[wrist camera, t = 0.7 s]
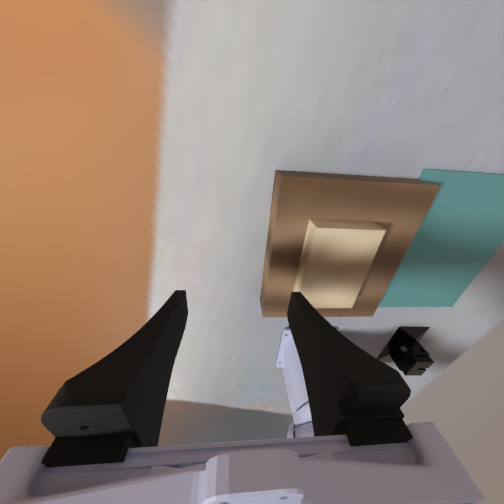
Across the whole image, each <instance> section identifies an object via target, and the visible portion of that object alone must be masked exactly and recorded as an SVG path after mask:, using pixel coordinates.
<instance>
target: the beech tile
mask: <svg viewBox="0 0 504 504" xmlns="http://www.w3.org/2000/svg"><path fill="white" fill-rule="evenodd" d="M385 232H386V230H385V229H383V228H381V227H380V226H378V225H377V224H375V223H373V222H370V221H346V220H322V219H309V222H308V227H307V231H306V236H305V240H304V245H303V249H302V254H301V258H300V263H299V267H298V272H297V276H296V281H295V285H294V289H293V292H301V293H302V294H303V296H304V297H305V298H306V299H307V300H308V301H309V302H310V304H311V305H312V306H313V307H314V308H352V307H353V304H354V302H355V300H356V298H357V295H358V293H359V291H360V288H361V286H362V284H363V282H364V279H365V277H366V275H367V273H368V270H369V268H370V266H371V263H372V261H373V259H374V257H375V254H376V252H377V250H378V247H379V245H380V243H381V241H382V238H383V236H384V234H385Z"/></svg>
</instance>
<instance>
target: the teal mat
mask: <svg viewBox="0 0 504 504" xmlns="http://www.w3.org/2000/svg"><path fill="white" fill-rule="evenodd" d="M419 180H420V181H424V182H428V183H432V184H436V185H440V186H441V187H440V189H439V191H438V193H437V195H436V196H435V198H434V200H433V202H432V204H431V206H430V208H429V210H428V212H427V214H426V215H425V217H424V219H423V221H422V223H421V225H420V227H419V229H418V231H417V233H416V235H415V236H414V238H413V240H412V242H411V244H410V246H409V248H408V250H407V252H406V254H405V256H404V257H403V259H402V261H401V263H400V265H399V267H398V269H397V271H396V273H395V275H394V276H393V278H392V280H391V282H390V284H389V286H388V288H387V290H386V292H385V294H384V296H383V297H382V299H381V301H380V303H379V305H378V307H452V306H453V305H454V303H455V302H456V301H457V300H458V298H459V297H460V296H461V294H462V293H463V292H464V291H465V289H466V288H467V287H468V285H469V284H470V283H471V282H472V280H473V279H474V278H475V276H476V275H477V274H478V273H479V271H480V270H481V269H482V267H483V266H484V265H485V264H486V262H487V261H488V260H489V258H490V257H491V256H492V255H493V253H494V252H495V251H496V249H497V248H498V247H499V246H500V244H501V243H502V242H503V240H504V174H492V173H478V172H464V171H449V170H435V169H424V170H423V172H422V174H421V176H420V178H419Z"/></svg>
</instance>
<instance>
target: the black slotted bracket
mask: <svg viewBox="0 0 504 504" xmlns="http://www.w3.org/2000/svg"><path fill="white" fill-rule="evenodd" d="M429 328H430V327H399V328H398V329H397V331H396V332H395V334H394V335H393V336H392V338H391V339H390V341H389V342H388V344H387V345H386V346H385V348H384V349H383V351H382V352H381V353H380V355H379V356H378V358H377V360H379V361H394V362H395V364H396V365H397V367H398V368H399V370H400V371H403V373H404V374H405V375H422V374H423V373H424V372H425V371H426V369H425V368H429V367H430V366H431V365H432V364H433V363H434V362H433V360H432V359H431V358H430V357H429V353H428V352H427V351H426V350H425V349H424V348H423V347H422V345H421V344H420V343H419V342H418V341H419V340H420V339H421V338H422V337H423V335H424V334H425V333H426V332H427V331H428V329H429Z"/></svg>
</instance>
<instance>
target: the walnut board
mask: <svg viewBox="0 0 504 504" xmlns="http://www.w3.org/2000/svg"><path fill="white" fill-rule="evenodd" d="M440 187H441V186H440V185H436V184H432V183H428V182H424V181H420V180H416V179H404V178H388V177H373V176H358V175H342V174H327V173H311V172H296V171H280V170H276V171H275V179H274V187H273V196H272V204H271V213H270V221H269V229H268V238H267V246H266V254H265V263H264V271H263V279H262V288H261V296H260V302H261V309H262V315H263V317H288V316H287V310H288V306H289V302H290V297H291V293H292V292H293V289H294V285H295V281H296V276H297V272H298V267H299V263H300V258H301V254H302V249H303V245H304V240H305V236H306V231H307V227H308V222H309V219H322V220H346V221H370V222H373V223H375V224H377V225H378V226H380V227H381V228H383V229H385V230H386V232H385V234H384V236H383V238H382V241H381V243H380V245H379V247H378V250H377V252H376V254H375V257H374V259H373V261H372V263H371V266H370V268H369V270H368V273H367V275H366V277H365V279H364V282H363V284H362V286H361V288H360V291H359V293H358V295H357V298H356V300H355V302H354V304H353V307H352V308H315V309H316V310H317V311H318V312H319V313H320V314H321V316H322V317H346V316H373V315H374V313H375V311H376V309H377V307H378V305H379V303H380V301H381V299H382V297H383V296H384V294H385V292H386V290H387V288H388V286H389V284H390V282H391V280H392V278H393V276H394V275H395V273H396V271H397V269H398V267H399V265H400V263H401V261H402V259H403V257H404V256H405V254H406V252H407V250H408V248H409V246H410V244H411V242H412V240H413V238H414V236H415V235H416V233H417V231H418V229H419V227H420V225H421V223H422V221H423V219H424V217H425V215H426V214H427V212H428V210H429V208H430V206H431V204H432V202H433V200H434V198H435V196H436V195H437V193H438V191H439V189H440Z"/></svg>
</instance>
